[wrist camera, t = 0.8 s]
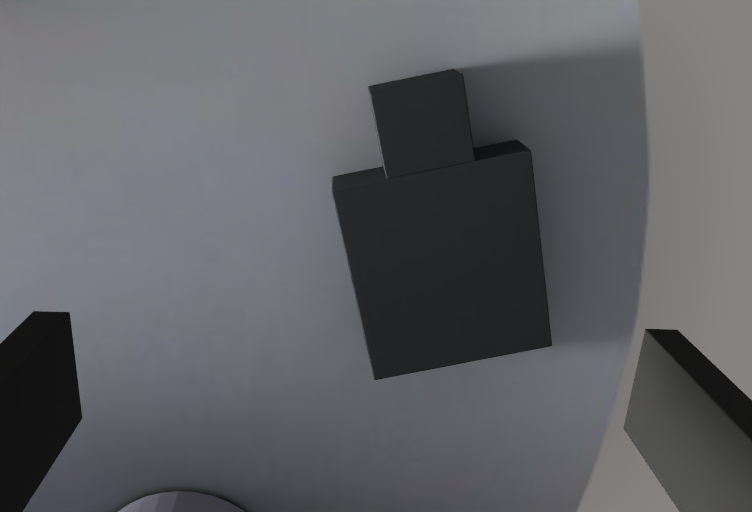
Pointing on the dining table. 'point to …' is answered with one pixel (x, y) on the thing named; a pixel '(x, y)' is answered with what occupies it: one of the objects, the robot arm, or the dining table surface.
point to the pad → (441, 235)
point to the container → (180, 503)
